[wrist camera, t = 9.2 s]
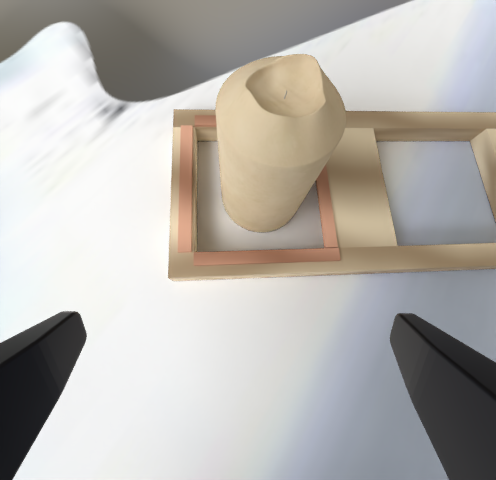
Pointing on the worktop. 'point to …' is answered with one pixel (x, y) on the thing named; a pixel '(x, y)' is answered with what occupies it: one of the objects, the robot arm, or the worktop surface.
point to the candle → (275, 137)
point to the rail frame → (334, 202)
